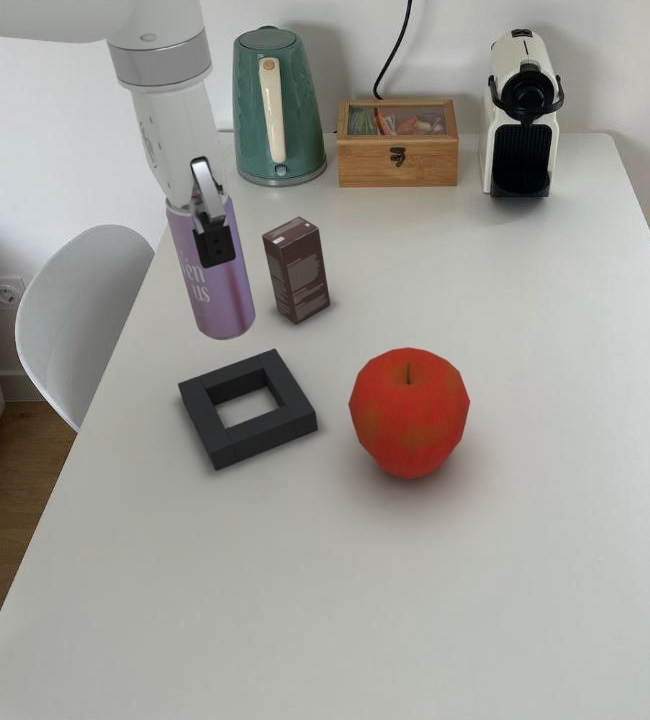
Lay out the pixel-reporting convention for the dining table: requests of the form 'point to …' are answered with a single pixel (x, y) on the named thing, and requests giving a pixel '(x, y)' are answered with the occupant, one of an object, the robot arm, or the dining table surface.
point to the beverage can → (213, 277)
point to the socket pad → (256, 432)
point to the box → (297, 268)
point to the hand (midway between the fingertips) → (207, 242)
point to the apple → (409, 411)
